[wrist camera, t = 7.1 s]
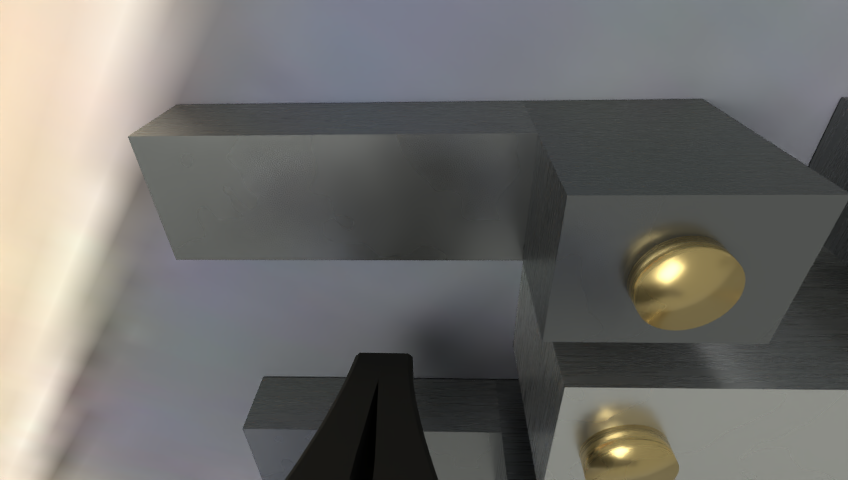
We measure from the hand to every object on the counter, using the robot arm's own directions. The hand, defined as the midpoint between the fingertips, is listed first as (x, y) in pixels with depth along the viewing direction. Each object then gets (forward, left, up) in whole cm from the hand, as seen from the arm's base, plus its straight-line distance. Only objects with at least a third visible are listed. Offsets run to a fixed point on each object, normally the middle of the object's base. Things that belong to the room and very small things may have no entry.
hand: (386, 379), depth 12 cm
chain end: (0, -1, -3) cm, 3 cm away
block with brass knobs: (+1, -9, -3) cm, 9 cm away
